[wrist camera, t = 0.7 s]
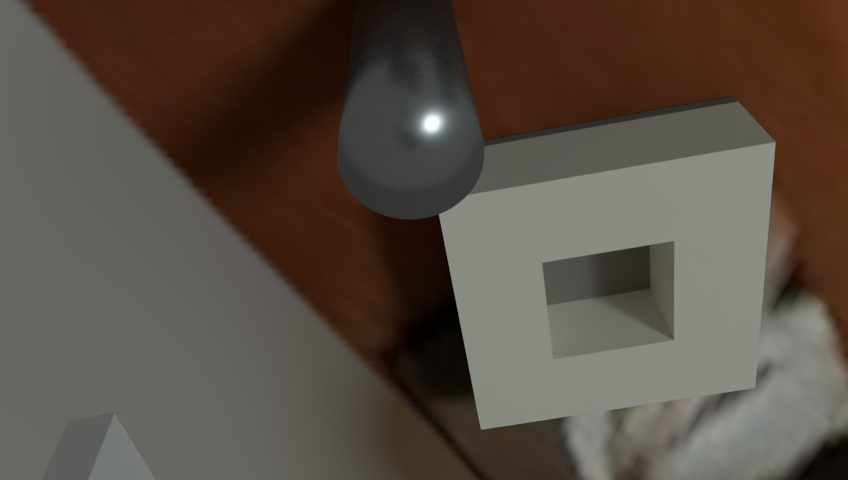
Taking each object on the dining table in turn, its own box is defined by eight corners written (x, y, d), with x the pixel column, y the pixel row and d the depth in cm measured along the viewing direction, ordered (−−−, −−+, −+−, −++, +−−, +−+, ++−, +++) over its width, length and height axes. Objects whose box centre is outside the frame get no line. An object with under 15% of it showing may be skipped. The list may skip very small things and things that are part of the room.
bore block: (430, 149, 31) (436, 200, 28) (733, 96, 30) (775, 142, 27) (472, 367, 38) (480, 429, 35) (722, 328, 37) (755, 387, 34)
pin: (345, -37, 27) (320, 102, 17) (441, -56, 27) (473, 74, 17) (366, 55, 29) (355, 230, 19) (456, 38, 29) (493, 206, 19)
